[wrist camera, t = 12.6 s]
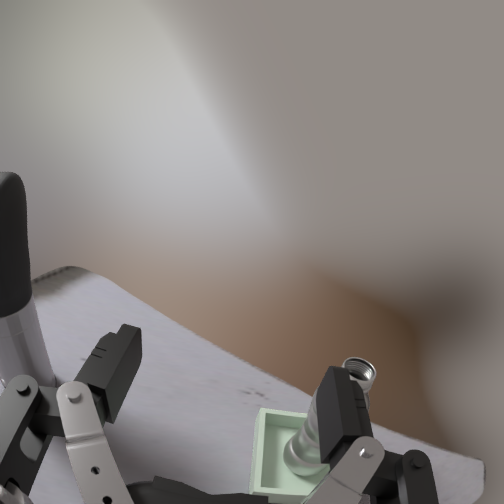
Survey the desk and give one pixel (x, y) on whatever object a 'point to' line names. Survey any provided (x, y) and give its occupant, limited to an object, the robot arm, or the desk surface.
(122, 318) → the desk surface
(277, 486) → the green tray
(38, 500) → the desk surface
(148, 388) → the desk surface
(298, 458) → the plastic bottle
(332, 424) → the robot arm
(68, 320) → the desk surface
